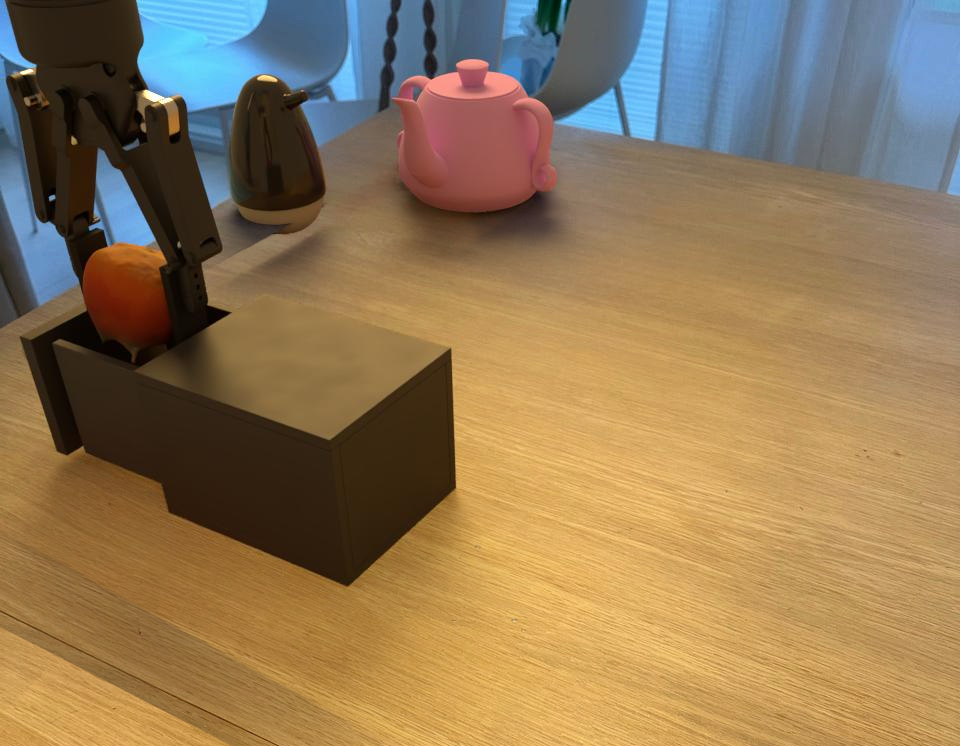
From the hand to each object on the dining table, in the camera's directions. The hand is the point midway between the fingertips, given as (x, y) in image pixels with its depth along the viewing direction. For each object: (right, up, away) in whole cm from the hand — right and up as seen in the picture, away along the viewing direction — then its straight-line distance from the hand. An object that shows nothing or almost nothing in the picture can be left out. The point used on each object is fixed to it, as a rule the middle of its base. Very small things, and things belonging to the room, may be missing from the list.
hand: (150, 334), depth 80 cm
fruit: (0, 0, 0) cm, 0 cm away
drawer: (-1, -6, +7) cm, 9 cm away
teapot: (+22, +27, +44) cm, 57 cm away
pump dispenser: (+3, +23, +39) cm, 45 cm away
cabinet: (+12, -12, +1) cm, 17 cm away
